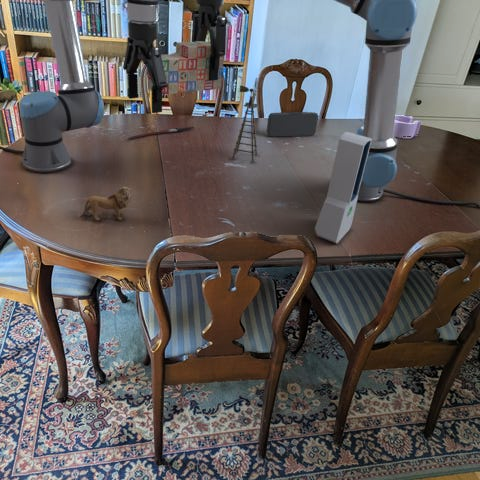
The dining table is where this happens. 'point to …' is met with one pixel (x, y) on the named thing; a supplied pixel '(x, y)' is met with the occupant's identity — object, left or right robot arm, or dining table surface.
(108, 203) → the lion figurine
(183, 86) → the stack of blocks
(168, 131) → the sword
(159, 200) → the dining table surface
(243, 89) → the miniature windmill
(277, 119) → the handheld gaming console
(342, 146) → the electronic device
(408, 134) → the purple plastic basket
